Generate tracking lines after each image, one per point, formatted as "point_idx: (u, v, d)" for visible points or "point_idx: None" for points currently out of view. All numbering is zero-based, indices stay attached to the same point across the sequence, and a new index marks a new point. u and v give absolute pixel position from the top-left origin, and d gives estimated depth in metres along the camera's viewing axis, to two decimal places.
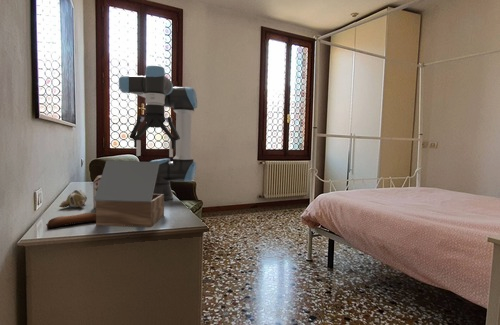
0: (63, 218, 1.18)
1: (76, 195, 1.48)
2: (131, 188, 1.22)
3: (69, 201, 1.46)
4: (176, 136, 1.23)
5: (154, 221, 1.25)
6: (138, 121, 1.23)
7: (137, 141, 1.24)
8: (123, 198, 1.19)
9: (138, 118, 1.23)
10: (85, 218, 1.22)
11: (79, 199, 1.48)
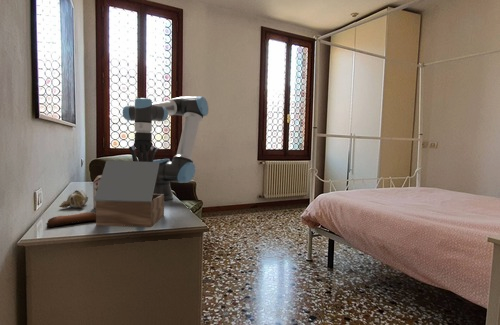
0: (62, 217, 1.19)
1: (76, 195, 1.47)
2: (131, 188, 1.22)
3: (69, 201, 1.46)
4: None
5: (154, 221, 1.25)
6: (132, 151, 1.39)
7: None
8: (123, 198, 1.19)
9: (130, 149, 1.39)
10: (84, 217, 1.23)
11: (79, 199, 1.48)
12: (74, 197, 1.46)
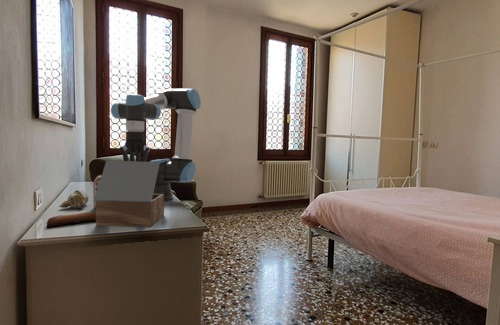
0: (62, 217, 1.19)
1: (76, 195, 1.47)
2: (131, 188, 1.22)
3: (69, 201, 1.46)
4: None
5: (154, 221, 1.25)
6: (123, 151, 1.29)
7: None
8: (123, 198, 1.19)
9: (121, 149, 1.29)
10: (84, 217, 1.23)
11: (79, 199, 1.47)
12: (74, 197, 1.46)
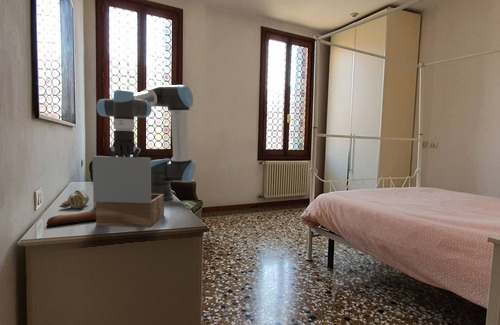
0: (62, 217, 1.20)
1: (76, 195, 1.47)
2: (128, 189, 1.18)
3: (69, 201, 1.46)
4: None
5: (154, 221, 1.25)
6: (110, 152, 1.18)
7: None
8: (122, 200, 1.19)
9: (108, 150, 1.18)
10: (84, 217, 1.24)
11: (79, 200, 1.47)
12: (74, 197, 1.46)
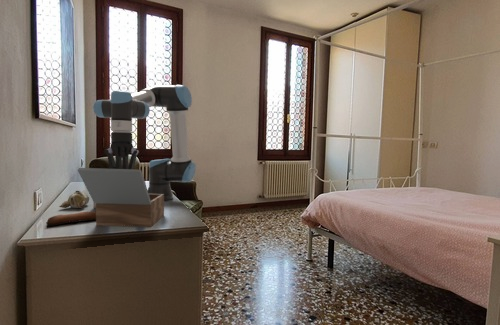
0: (62, 216, 1.20)
1: (77, 196, 1.47)
2: (125, 195, 1.16)
3: (69, 201, 1.46)
4: None
5: (154, 221, 1.25)
6: (108, 154, 1.16)
7: None
8: (122, 202, 1.18)
9: (106, 152, 1.16)
10: (84, 216, 1.24)
11: (79, 200, 1.47)
12: (74, 197, 1.46)
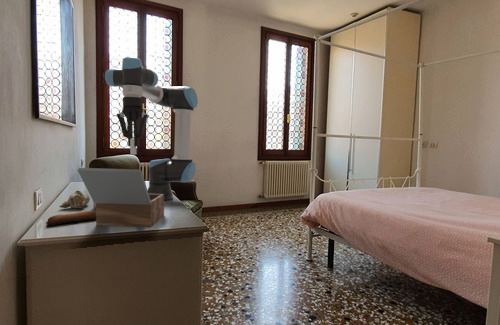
0: (62, 216, 1.21)
1: (77, 196, 1.46)
2: (125, 195, 1.16)
3: (70, 202, 1.45)
4: (140, 134, 1.24)
5: (154, 221, 1.25)
6: (120, 118, 1.23)
7: (131, 140, 1.24)
8: (122, 202, 1.18)
9: (118, 116, 1.23)
10: (83, 216, 1.25)
11: (79, 200, 1.46)
12: (74, 197, 1.45)
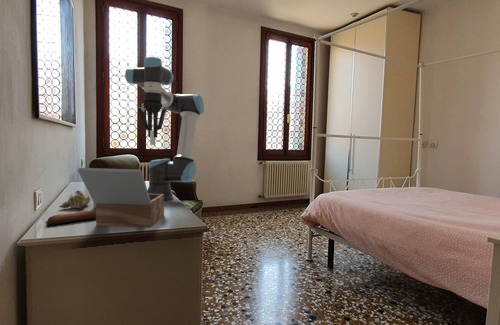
0: (62, 216, 1.21)
1: (77, 196, 1.46)
2: (125, 195, 1.16)
3: (70, 202, 1.45)
4: (159, 126, 1.36)
5: (154, 221, 1.25)
6: (141, 112, 1.36)
7: (151, 131, 1.36)
8: (122, 202, 1.18)
9: (139, 109, 1.36)
10: (83, 216, 1.25)
11: (79, 200, 1.46)
12: (74, 198, 1.45)
